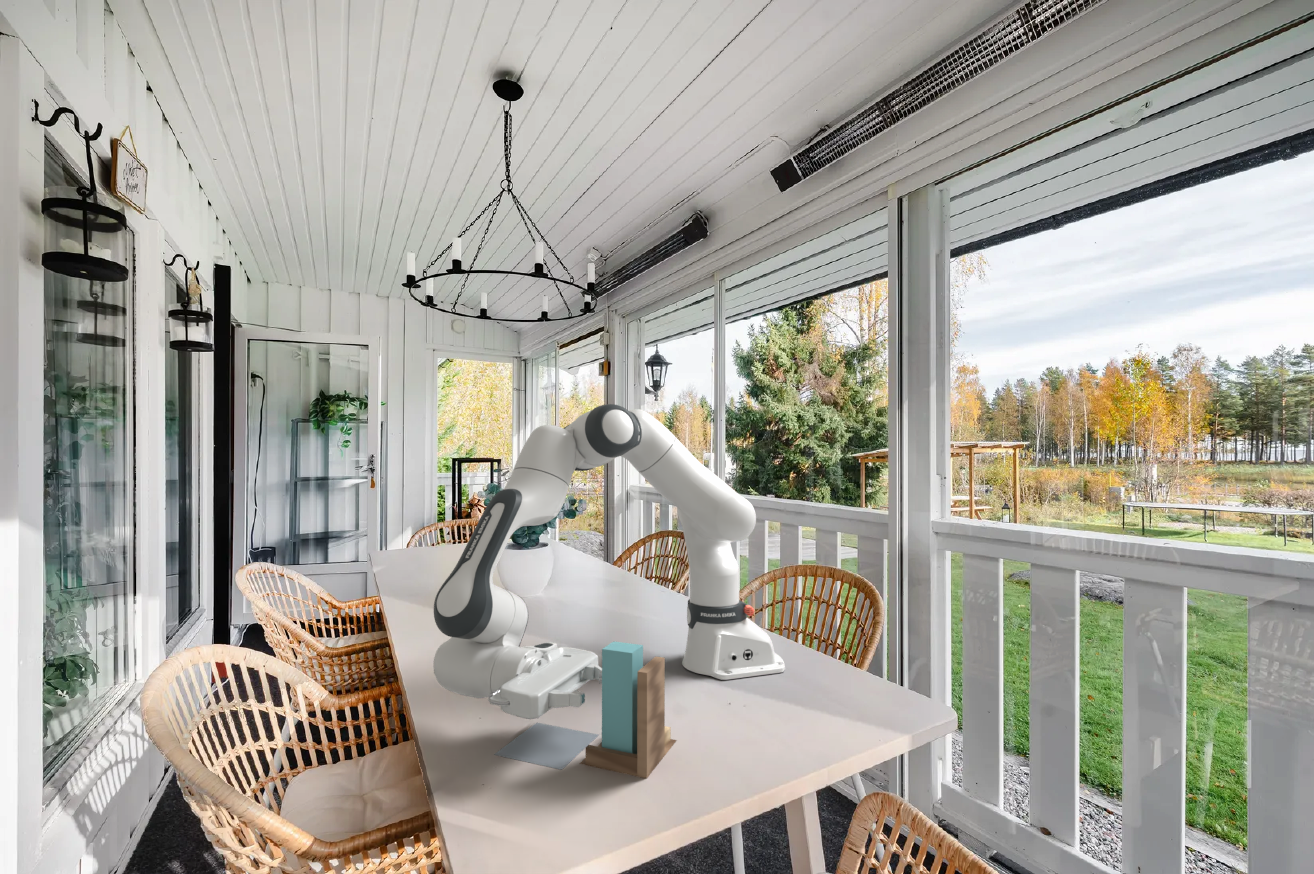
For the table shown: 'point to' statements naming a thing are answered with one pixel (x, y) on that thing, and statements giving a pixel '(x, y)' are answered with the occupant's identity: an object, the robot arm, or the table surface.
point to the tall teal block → (620, 695)
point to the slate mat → (547, 745)
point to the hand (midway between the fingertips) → (597, 688)
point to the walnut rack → (640, 728)
